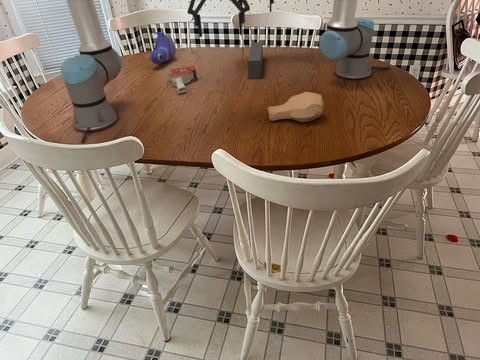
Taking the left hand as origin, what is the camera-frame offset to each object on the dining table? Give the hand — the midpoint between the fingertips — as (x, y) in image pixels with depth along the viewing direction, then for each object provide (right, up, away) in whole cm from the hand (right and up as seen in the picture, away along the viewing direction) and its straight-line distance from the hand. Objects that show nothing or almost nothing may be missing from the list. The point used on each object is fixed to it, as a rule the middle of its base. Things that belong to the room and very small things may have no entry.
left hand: (220, 35), depth 120 cm
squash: (+26, -27, +7) cm, 39 cm away
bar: (+14, +6, +53) cm, 56 cm away
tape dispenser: (-20, -6, +41) cm, 46 cm away
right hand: (+14, +30, +48) cm, 58 cm away
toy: (-34, +12, +66) cm, 75 cm away
